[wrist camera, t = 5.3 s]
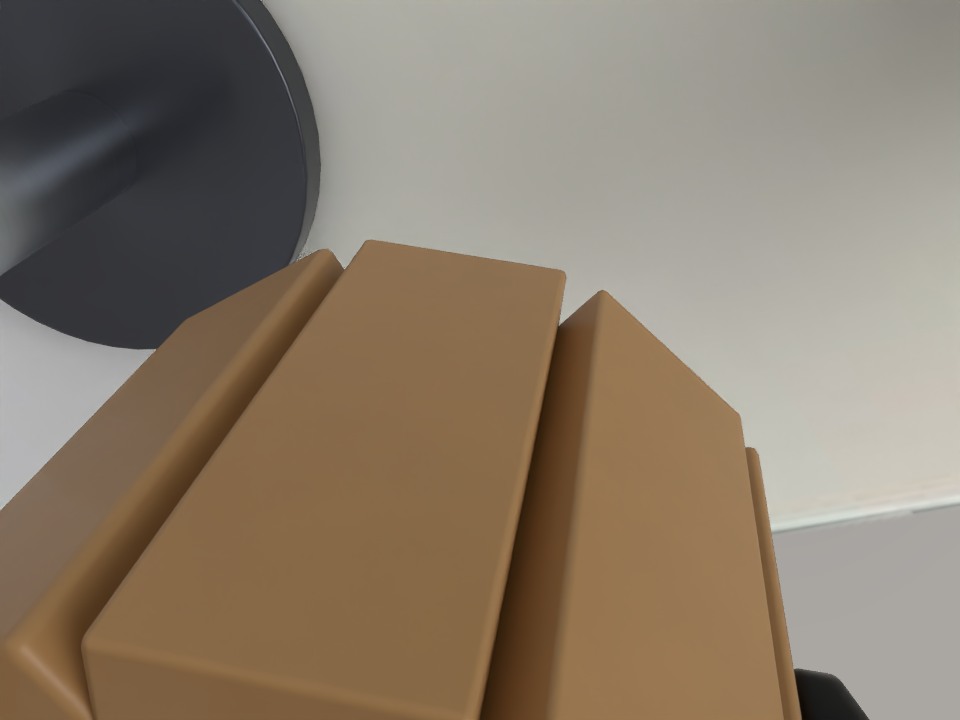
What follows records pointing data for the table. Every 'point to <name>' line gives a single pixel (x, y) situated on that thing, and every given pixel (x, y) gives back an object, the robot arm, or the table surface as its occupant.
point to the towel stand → (147, 161)
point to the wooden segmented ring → (399, 517)
